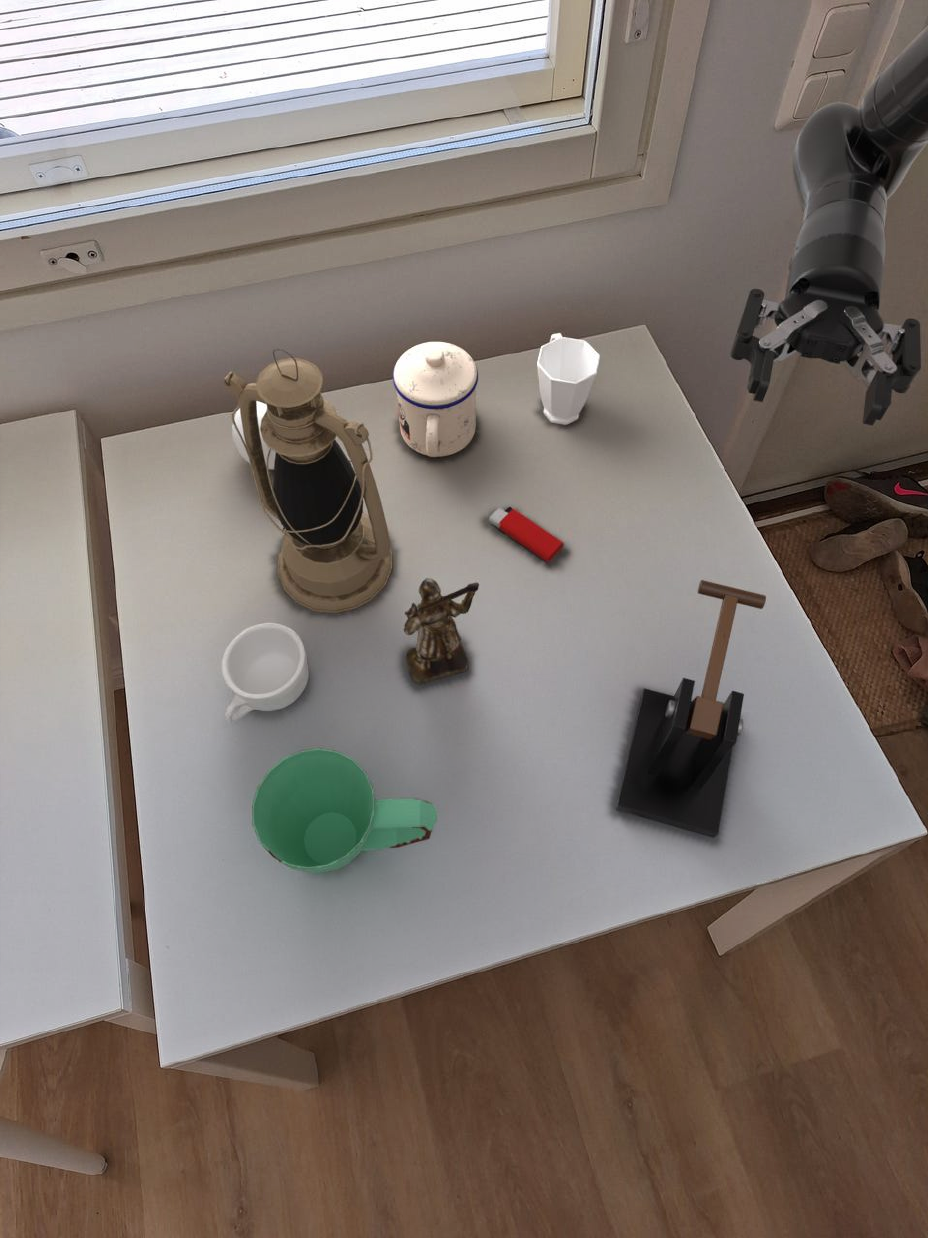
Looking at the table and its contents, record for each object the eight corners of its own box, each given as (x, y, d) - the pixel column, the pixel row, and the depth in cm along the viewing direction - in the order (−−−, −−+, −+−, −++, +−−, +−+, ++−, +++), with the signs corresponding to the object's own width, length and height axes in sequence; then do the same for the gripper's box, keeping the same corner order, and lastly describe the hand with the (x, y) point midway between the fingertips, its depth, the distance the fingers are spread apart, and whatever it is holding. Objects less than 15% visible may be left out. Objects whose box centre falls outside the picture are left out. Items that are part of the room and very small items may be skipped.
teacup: (268, 635, 89) (256, 609, 84) (330, 671, 87) (322, 646, 82) (204, 714, 85) (188, 691, 80) (267, 754, 83) (255, 733, 78)
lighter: (547, 558, 91) (488, 516, 94) (546, 564, 93) (488, 523, 95) (564, 540, 92) (505, 500, 95) (563, 547, 94) (504, 507, 96)
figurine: (474, 633, 89) (475, 552, 76) (486, 666, 87) (489, 589, 74) (403, 653, 88) (391, 573, 75) (413, 686, 86) (403, 611, 73)
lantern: (245, 579, 92) (155, 370, 66) (305, 496, 97) (243, 271, 71) (367, 634, 89) (323, 437, 62) (422, 546, 94) (403, 329, 67)
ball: (289, 494, 97) (274, 447, 90) (227, 469, 99) (208, 421, 92) (325, 442, 101) (314, 393, 93) (265, 419, 102) (249, 369, 95)
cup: (538, 437, 101) (543, 387, 94) (521, 373, 105) (524, 321, 98) (598, 429, 101) (608, 378, 94) (578, 365, 106) (586, 313, 99)
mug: (269, 895, 77) (243, 868, 68) (282, 785, 81) (259, 747, 72) (438, 897, 76) (434, 870, 68) (441, 787, 81) (437, 749, 72)
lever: (698, 584, 77) (703, 575, 75) (761, 600, 76) (769, 591, 74) (664, 727, 74) (669, 722, 71) (730, 745, 73) (737, 741, 71)
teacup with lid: (402, 397, 104) (394, 320, 93) (479, 399, 103) (480, 323, 93) (392, 479, 98) (383, 406, 88) (474, 482, 98) (475, 410, 87)
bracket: (641, 693, 85) (667, 631, 74) (734, 718, 84) (775, 659, 73) (615, 809, 80) (639, 762, 69) (714, 838, 79) (755, 794, 67)
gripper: (765, 215, 74) (736, 351, 66) (941, 247, 72) (933, 390, 64) (741, 288, 81) (713, 419, 73) (902, 319, 78) (890, 457, 71)
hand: (816, 405), depth 69 cm, fingers open, 8 cm apart
